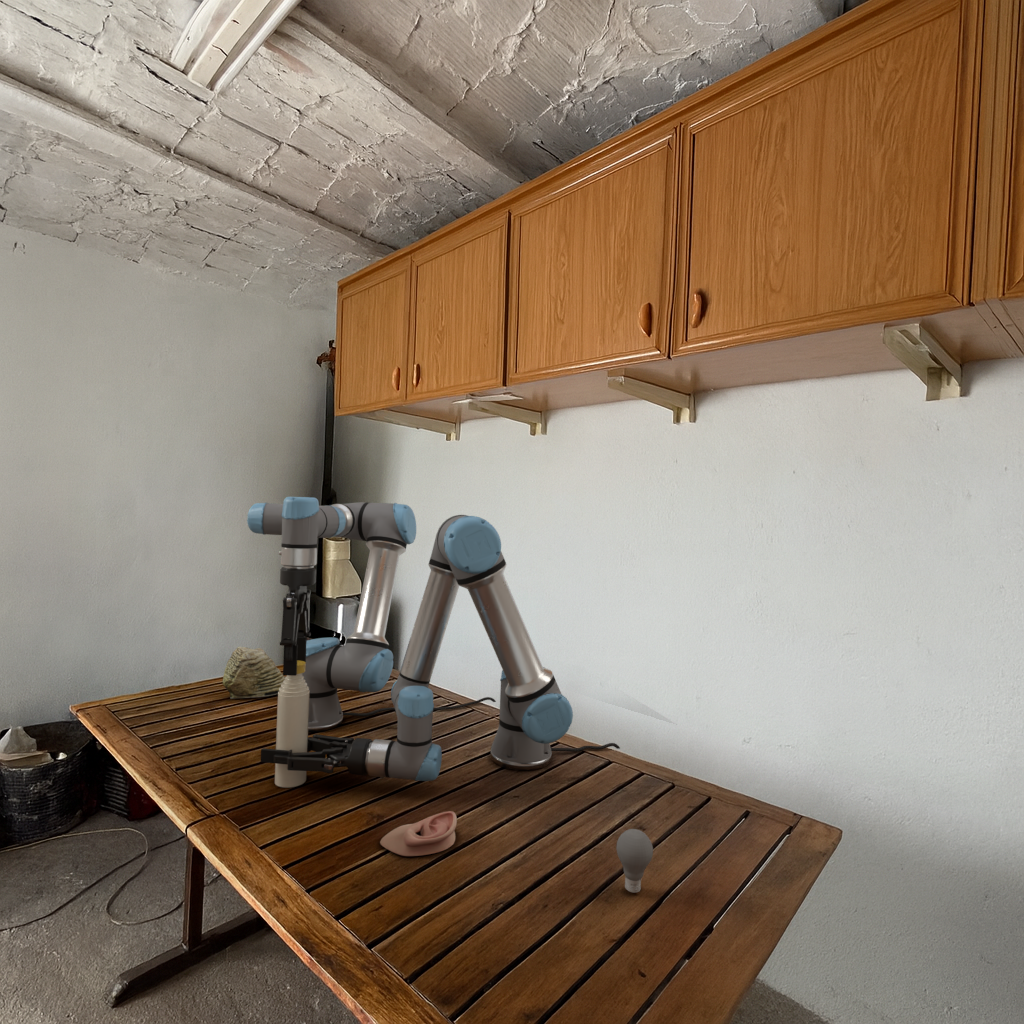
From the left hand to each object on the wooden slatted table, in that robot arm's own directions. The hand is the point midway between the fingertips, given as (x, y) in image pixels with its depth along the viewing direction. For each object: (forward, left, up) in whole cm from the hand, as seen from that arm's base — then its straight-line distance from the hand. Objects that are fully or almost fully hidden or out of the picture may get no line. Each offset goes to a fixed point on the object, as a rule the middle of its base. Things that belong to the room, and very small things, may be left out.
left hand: (294, 670), depth 140 cm
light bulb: (-16, +76, -25) cm, 82 cm away
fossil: (-25, -61, -25) cm, 70 cm away
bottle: (0, 0, -25) cm, 25 cm away
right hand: (+3, -4, -18) cm, 19 cm away
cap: (0, 0, +1) cm, 1 cm away
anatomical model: (-2, +39, -25) cm, 46 cm away
